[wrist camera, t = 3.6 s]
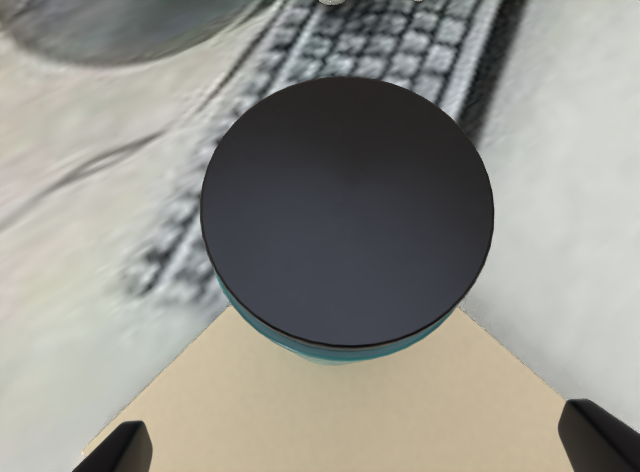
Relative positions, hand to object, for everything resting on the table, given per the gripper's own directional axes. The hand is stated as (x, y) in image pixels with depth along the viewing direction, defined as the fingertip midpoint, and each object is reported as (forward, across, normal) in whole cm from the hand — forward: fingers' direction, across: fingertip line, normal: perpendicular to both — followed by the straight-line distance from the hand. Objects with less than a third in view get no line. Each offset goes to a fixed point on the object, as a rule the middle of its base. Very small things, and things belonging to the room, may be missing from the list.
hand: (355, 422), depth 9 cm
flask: (+11, 0, +4) cm, 12 cm away
